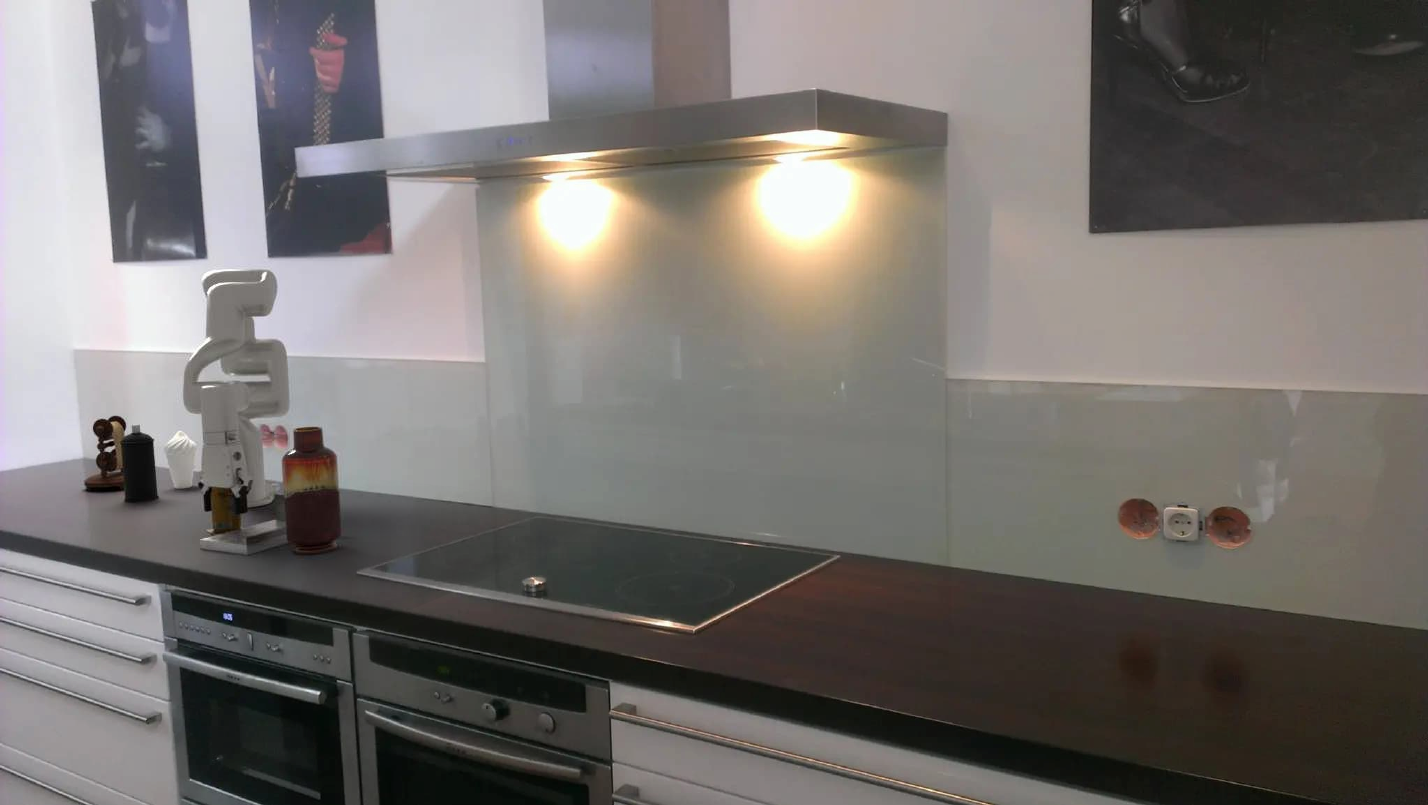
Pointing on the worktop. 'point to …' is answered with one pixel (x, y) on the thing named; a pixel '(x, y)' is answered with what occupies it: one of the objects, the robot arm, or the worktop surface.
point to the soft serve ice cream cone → (181, 459)
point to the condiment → (223, 511)
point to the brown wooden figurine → (108, 453)
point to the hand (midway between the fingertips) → (226, 512)
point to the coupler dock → (252, 535)
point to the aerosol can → (138, 466)
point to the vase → (311, 493)
